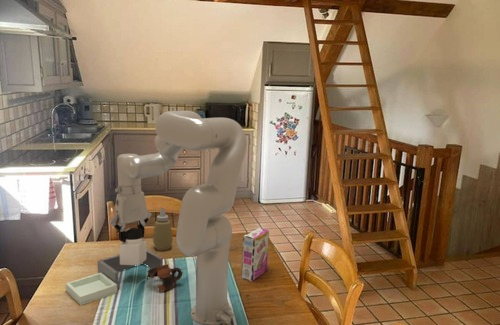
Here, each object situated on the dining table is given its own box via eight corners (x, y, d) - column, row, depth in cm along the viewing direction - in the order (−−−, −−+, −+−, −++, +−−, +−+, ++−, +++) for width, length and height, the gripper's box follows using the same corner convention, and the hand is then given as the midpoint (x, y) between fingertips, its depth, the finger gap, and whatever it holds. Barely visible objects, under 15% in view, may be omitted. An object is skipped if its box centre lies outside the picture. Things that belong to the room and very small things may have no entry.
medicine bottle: (146, 259, 142) (146, 226, 142) (139, 265, 135) (139, 231, 135) (127, 259, 143) (127, 226, 143) (119, 265, 136) (119, 230, 136)
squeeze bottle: (176, 247, 169) (176, 207, 166) (163, 254, 162) (162, 211, 159) (162, 243, 173) (162, 204, 170) (149, 249, 166) (148, 208, 163)
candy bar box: (253, 282, 140) (254, 238, 137) (241, 278, 143) (242, 235, 140) (267, 271, 150) (269, 229, 147) (256, 267, 152) (257, 227, 149)
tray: (117, 292, 130) (117, 284, 130) (80, 305, 122) (80, 297, 122) (101, 279, 139) (100, 272, 138) (65, 291, 130) (65, 283, 130)
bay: (162, 273, 145) (162, 258, 144) (115, 290, 132) (114, 273, 131) (144, 262, 154) (143, 247, 153) (98, 276, 141) (97, 260, 140)
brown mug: (150, 295, 129) (144, 270, 131) (151, 294, 138) (145, 271, 140) (186, 283, 132) (179, 259, 134) (184, 283, 141) (178, 261, 143)
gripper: (111, 195, 128) (113, 248, 131) (157, 187, 140) (159, 235, 143) (100, 191, 134) (103, 242, 136) (146, 184, 146) (148, 230, 148)
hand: (132, 238), depth 140 cm, fingers closed on medicine bottle, 6 cm apart
